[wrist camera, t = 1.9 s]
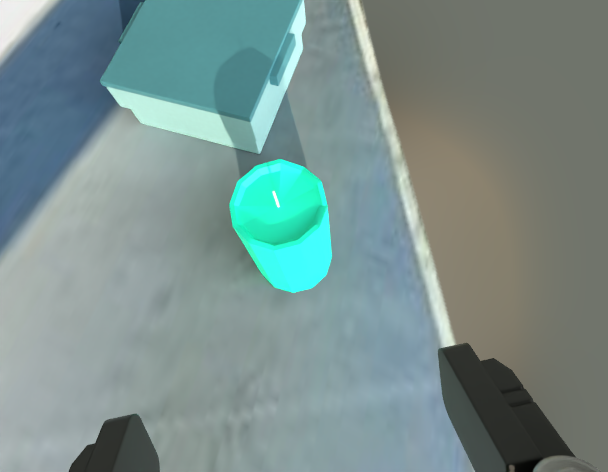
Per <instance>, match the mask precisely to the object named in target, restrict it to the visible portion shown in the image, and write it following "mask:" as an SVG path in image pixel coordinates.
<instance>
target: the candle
mask: <svg viewBox="0 0 608 472" xmlns="http://www.w3.org/2000/svg"><path fill="white" fill-rule="evenodd" d="M229 206H230V212H231V218H232V224H233V228H234V229H235V231H236V233H237V234H238V236H239V238H240V239H241V241H242V242H243V244H244V246H245V247H246V249H247V251H248V252H249V254H250V256H251V257H252V259H253V260H254V262H255V264H256V265H257V267H258V269H259V270H260V272H261V274H262V275H263V276H264V277H265V278H266V279H267V280H268V281H269V282H270V283H271V284H272V285H273V286H274V287H275V288H278V289H282V290H285V291H289V292H292V293H294V292H298V291H302V290H306V289H310V288H313V287H314V286H315V285H316V284H317V283H318V282H319V281H320V280H321V279H322V278H323V277H325V276H326V274H327V271H328V268H329V264H330V261H331V258H332V253H331V241H330V229H329V217H328V206H327V202H326V198H325V194H324V190H323V186H322V182H321V180H320V179H318V178H317V177H316V176H315V175H313V174H312V173H311V172H310V171H309V170H307V169H306V168H305V167H303V166H300V165H297V164H294V163H291V162H288V161H285V160H282V159H278V160H275V161H271V162H267V163H264V164H260V165H256V166H255V167H254V168H253V169H252V170H250V171H249V172H248V173H247V174H246V175H245V176H243V177H242V178H241V179H240V180H239V181H238V182H237V184H236V187H235V190H234V193H233V196H232V198H231V201H230V204H229Z"/></svg>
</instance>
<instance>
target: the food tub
mask: <svg viewBox="0 0 608 472" xmlns="http://www.w3.org/2000/svg"><path fill="white" fill-rule="evenodd" d="M305 24H306V18H305V8H304V0H145V2H144V3H143V2H140V4H139V5H138V7H137V9H136V11H135V12H134V14H133V16H132V18H131V19H130V21H129V23H128V25H127V26H126V28H125V30H124V32H123V34H122V35H121V37H120V39H119V43H120V46H119V48H118V49H117V51H116V53H115V55H114V57H113V58H112V60H111V62H110V64H109V65H108V67H107V69H106V71H105V72H104V74H103V76H102V78H101V80H100V82H101V84H102V85H103V86H106V88H107V89H108V90H109V92H110V93H111V94H112V96H113V97H114V98H115V100H116V101H117V102H118V104H119V105H120V106H121V107H124V108H128V109H131V110H132V112H133V113H134V115H135V116H136V117H137V119H138V120H139V122H140V123H141V124H145V125H149V126H153V127H157V128H161V129H164V130H168V131H172V132H176V133H180V134H184V135H187V136H191V137H195V138H199V139H203V140H207V141H211V142H214V143H218V144H222V145H226V146H230V147H234V148H237V149H241V150H245V151H249V152H253V153H257V154H260V153H261V151H262V148H263V146H264V143H265V141H266V138H267V136H268V133H269V131H270V129H271V126H272V124H273V121H274V119H275V116H276V114H277V111H278V109H279V107H280V104H281V102H282V99H283V97H284V94H285V92H286V89H287V87H288V85H289V82H290V80H291V77H292V75H293V72H294V70H295V67H296V65H297V63H298V60H299V58H300V55H301V53H302V50H303V45H302V36H301V34H302V31H303V29H304V26H305Z"/></svg>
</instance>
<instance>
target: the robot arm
mask: <svg viewBox="0 0 608 472" xmlns="http://www.w3.org/2000/svg"><path fill="white" fill-rule="evenodd" d="M438 358H439V368H440V378H441V387H442V395H443V400H444V404H445V407H446V410H447V413H448V416H449V418H450V420H451V422H452V424H453V426H454V428H455V430H456V432H457V435H458V437H459V439H460V441H461V443H462V445H463V447H464V449H465V451H466V453H467V455H468V457H469V459H470V462H471V464H472V466H473V468H474V470H475V472H601V471H600V470H598V469H597V468H596V467H594V466H593V465H591V464H590V463H588V462H585V461H584V460H581V459H578V458H576V457H575V455H574V454H573V453H572V452H571V451H570V449H569V448H568V446H567V445H566V444H565V443H564V441H563V440H562V438H561V437H560V436H559V434H558V433H557V431H556V430H555V429H554V427H553V426H552V425H551V423H550V422H549V421H548V419H547V418H546V417H545V415H544V414H543V412H542V411H541V410H540V408H539V407H538V405H537V404H536V403H535V402H533V399H532V397H531V396H530V395H529V393H528V392H527V390H526V389H524V388H523V385H522V384H521V382H520V381H519V379H518V378H517V377H516V376H515V374H514V373H513V371H512V370H511V369H509V368H508V367H506V366H504V365H503V364H502V363H500V362H499V361H497V360H496V359H494V358H493V359H488V360H483V361H480V360H479V358H478V357H477V355H476V354H475V352H474V351H473V349H472V348H471V346H470V345H469V344H468V343H463V344H459V345H454V346H449V347H445V348H440V349H439V350H438ZM69 472H160V466H159V459H158V455H157V453H156V450H155V448H154V446H153V444H152V442H151V440H150V438H149V435H148V433H147V431H146V429H145V427H144V425H143V423H142V420H141V418H140V417H139V416H138V415H137V414H132V415H127V416H122V417H118V418H113V419H109V420H106V421H105V422H104V424H103V426H102V428H101V430H100V433H99V435H98V438H97V440H96V443H95V444H91V445H87V446H86V448H85V449H84V450H83V451H82V452H81V454H80V455H79V456H78V457H77V459H76V460H75V461H74V462H73V463H72V465H71V467H70V470H69Z"/></svg>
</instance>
